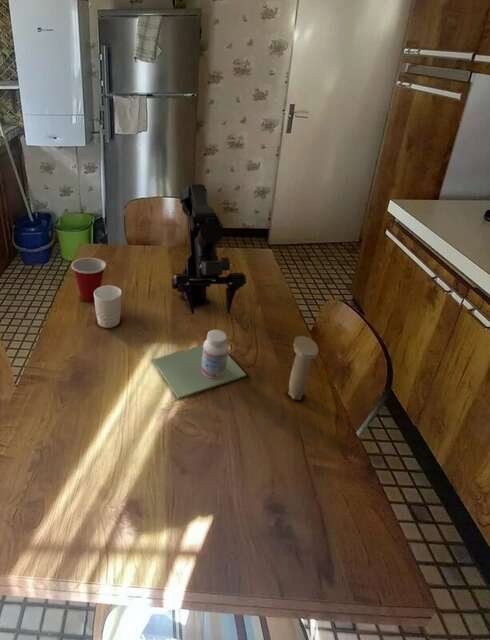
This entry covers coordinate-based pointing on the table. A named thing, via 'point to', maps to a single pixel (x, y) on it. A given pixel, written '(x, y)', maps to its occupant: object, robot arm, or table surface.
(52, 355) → the table surface
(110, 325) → the white cup
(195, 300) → the robot arm
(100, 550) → the table surface
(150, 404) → the table surface
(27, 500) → the table surface
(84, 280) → the plastic cup
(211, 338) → the pill bottle
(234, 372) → the mat
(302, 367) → the handle
